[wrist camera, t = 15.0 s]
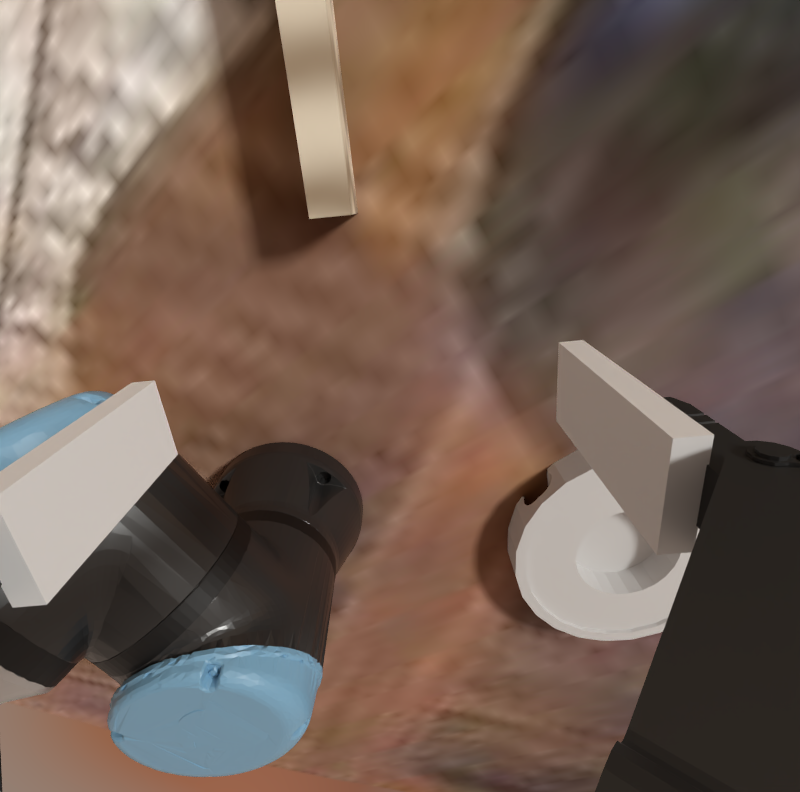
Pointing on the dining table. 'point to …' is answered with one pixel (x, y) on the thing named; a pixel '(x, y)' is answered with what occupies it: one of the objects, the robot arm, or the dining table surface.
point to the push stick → (318, 105)
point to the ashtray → (589, 560)
